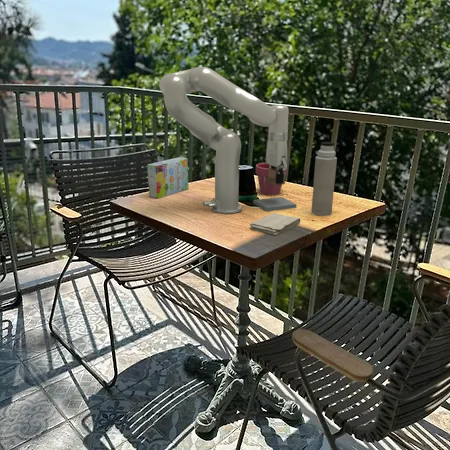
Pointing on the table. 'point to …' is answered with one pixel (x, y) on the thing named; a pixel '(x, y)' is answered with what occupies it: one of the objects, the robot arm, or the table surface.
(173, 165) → the snack box
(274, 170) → the walnut block
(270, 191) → the plant pot
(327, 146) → the thermos bottle
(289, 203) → the slate board
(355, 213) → the table surface
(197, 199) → the table surface
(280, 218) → the washcloth
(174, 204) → the table surface
